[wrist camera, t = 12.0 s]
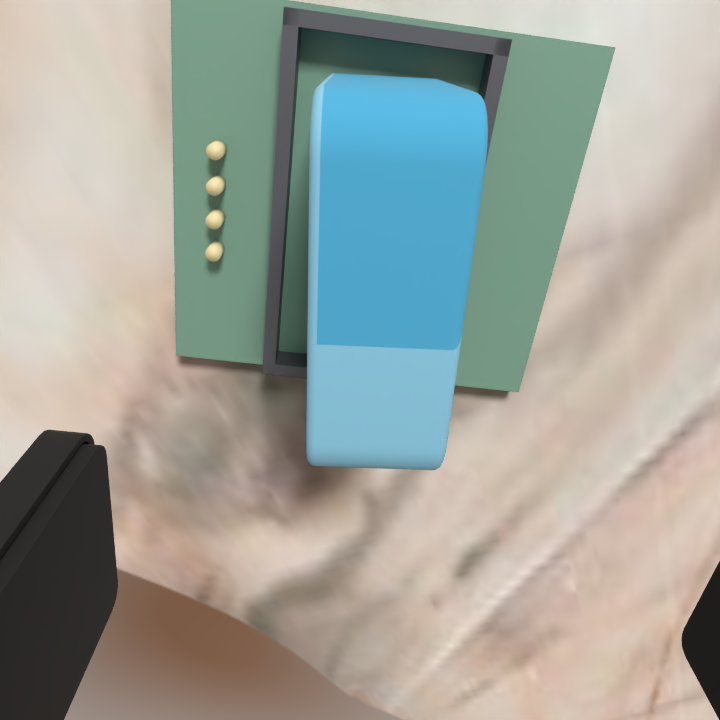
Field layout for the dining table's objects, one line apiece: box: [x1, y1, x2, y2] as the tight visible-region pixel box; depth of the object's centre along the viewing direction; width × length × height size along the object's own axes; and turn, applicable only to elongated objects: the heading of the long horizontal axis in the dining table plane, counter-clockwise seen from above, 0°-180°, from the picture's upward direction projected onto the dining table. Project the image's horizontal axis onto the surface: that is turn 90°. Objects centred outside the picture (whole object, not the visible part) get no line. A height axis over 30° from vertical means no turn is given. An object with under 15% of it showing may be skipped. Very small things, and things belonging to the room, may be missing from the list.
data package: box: [306, 73, 488, 470], centre depth 23 cm, size 12×4×12 cm, turn 177°
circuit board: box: [171, 0, 615, 392], centre depth 28 cm, size 18×16×3 cm
